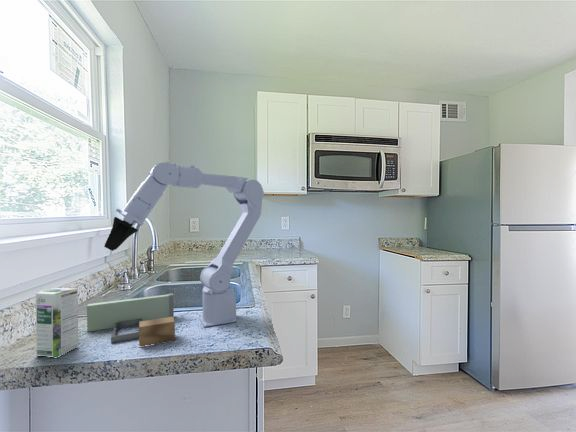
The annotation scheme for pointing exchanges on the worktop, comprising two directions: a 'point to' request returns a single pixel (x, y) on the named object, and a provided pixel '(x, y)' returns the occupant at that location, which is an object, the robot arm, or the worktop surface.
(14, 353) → the worktop surface
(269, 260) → the worktop surface
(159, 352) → the worktop surface
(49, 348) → the syrup box
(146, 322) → the bar
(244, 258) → the worktop surface
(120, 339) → the socket
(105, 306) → the door panel
